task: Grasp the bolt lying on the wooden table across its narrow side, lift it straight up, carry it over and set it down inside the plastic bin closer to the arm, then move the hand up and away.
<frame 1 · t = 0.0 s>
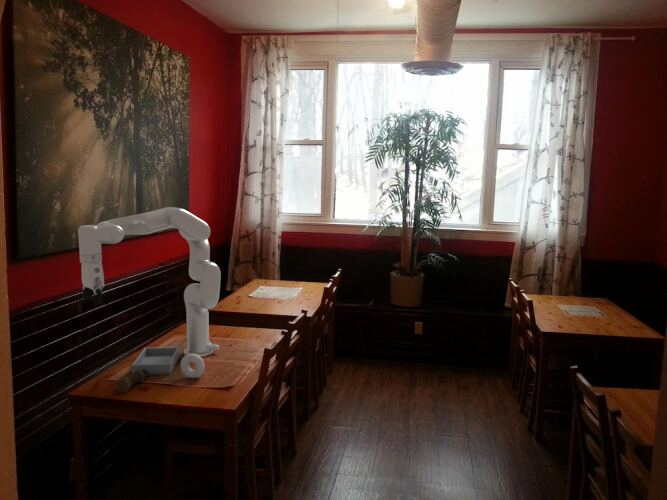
hand: (93, 302, 204), 31 cm above the table, tool pointing down, fingers open, 9 cm apart
bolt: (134, 385, 206), on the table
bin: (157, 364, 226), on the table
donut: (192, 378, 213), on the table
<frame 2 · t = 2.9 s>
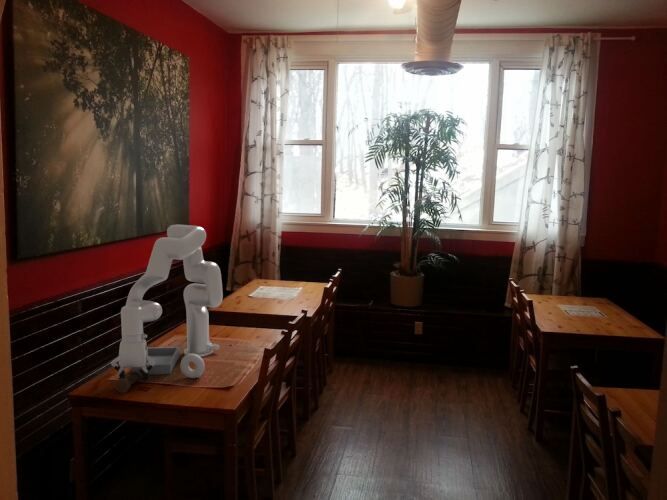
hand: (134, 381, 205), 1 cm above the table, tool pointing down, fingers open, 7 cm apart
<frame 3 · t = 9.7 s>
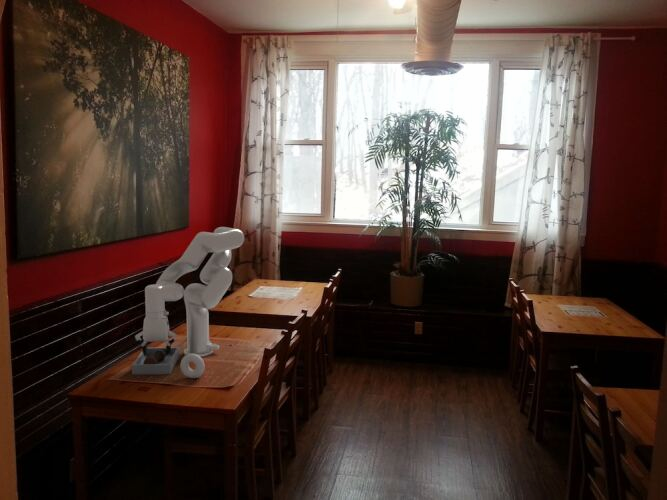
hand: (156, 354, 225), 5 cm above the table, tool pointing down, fingers open, 8 cm apart
bolt: (157, 363, 225), point 1 cm above the table, touching bin
everything else where it was.
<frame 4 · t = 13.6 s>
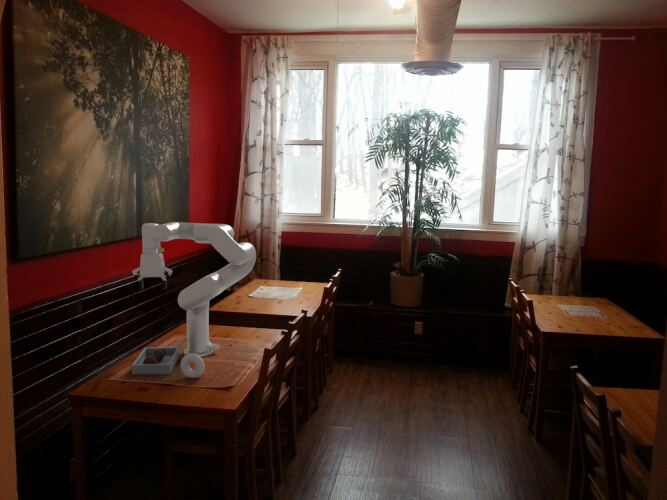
hand: (153, 289, 239), 28 cm above the table, tool pointing down, fingers open, 9 cm apart
nothing on the table moved.
at the end: bolt inside the target area on the bin (0.3 cm from its centre), point 0.8 cm above the bin's base; the gripper is holding nothing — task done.
